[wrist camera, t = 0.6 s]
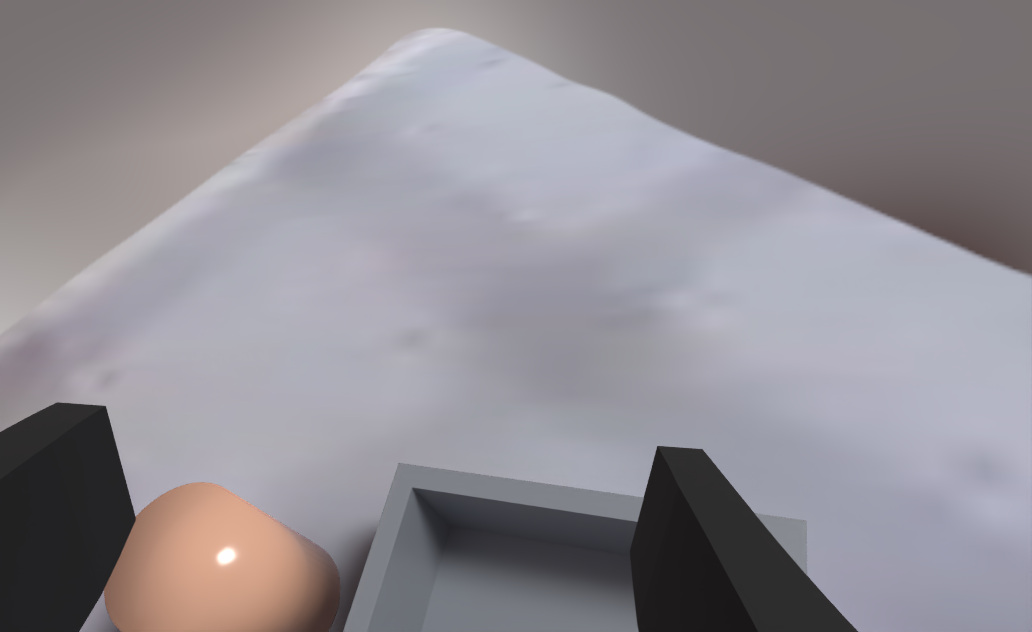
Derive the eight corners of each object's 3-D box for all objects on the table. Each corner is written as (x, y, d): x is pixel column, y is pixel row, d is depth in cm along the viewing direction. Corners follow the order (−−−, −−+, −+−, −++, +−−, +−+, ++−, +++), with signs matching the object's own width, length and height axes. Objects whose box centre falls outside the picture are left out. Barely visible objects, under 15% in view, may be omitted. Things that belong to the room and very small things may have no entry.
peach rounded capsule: (312, 683, 25) (201, 656, 20) (206, 655, 27) (75, 622, 21) (357, 551, 28) (270, 493, 22) (258, 532, 29) (154, 473, 24)
